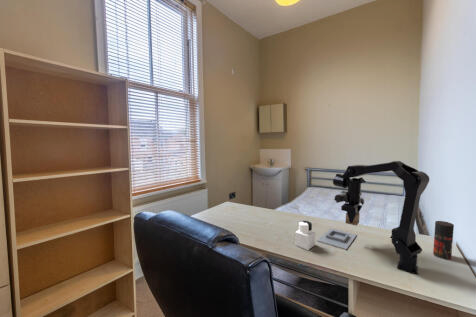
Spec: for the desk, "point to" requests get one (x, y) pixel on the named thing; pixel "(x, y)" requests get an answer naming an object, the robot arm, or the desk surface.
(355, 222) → the walnut block
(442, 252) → the deodorant
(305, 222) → the medicine bottle
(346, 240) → the base
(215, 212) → the desk surface
